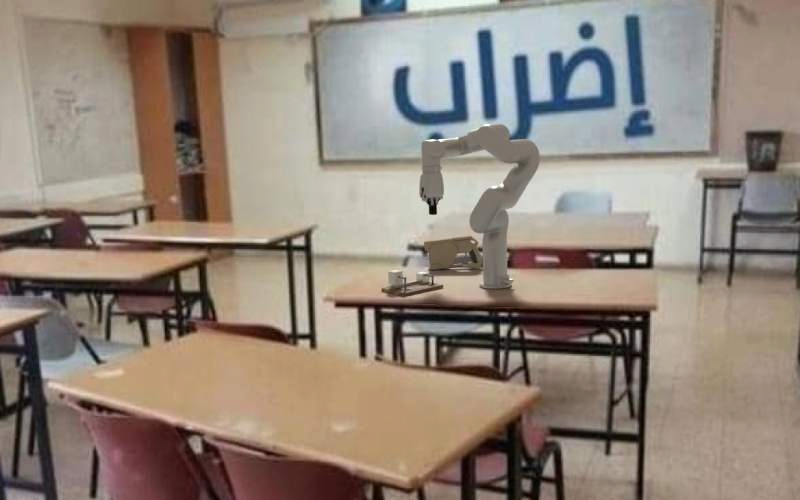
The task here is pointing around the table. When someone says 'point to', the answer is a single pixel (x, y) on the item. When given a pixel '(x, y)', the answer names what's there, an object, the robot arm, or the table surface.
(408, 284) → the beam
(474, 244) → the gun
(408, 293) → the hole board
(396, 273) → the sliding leg
